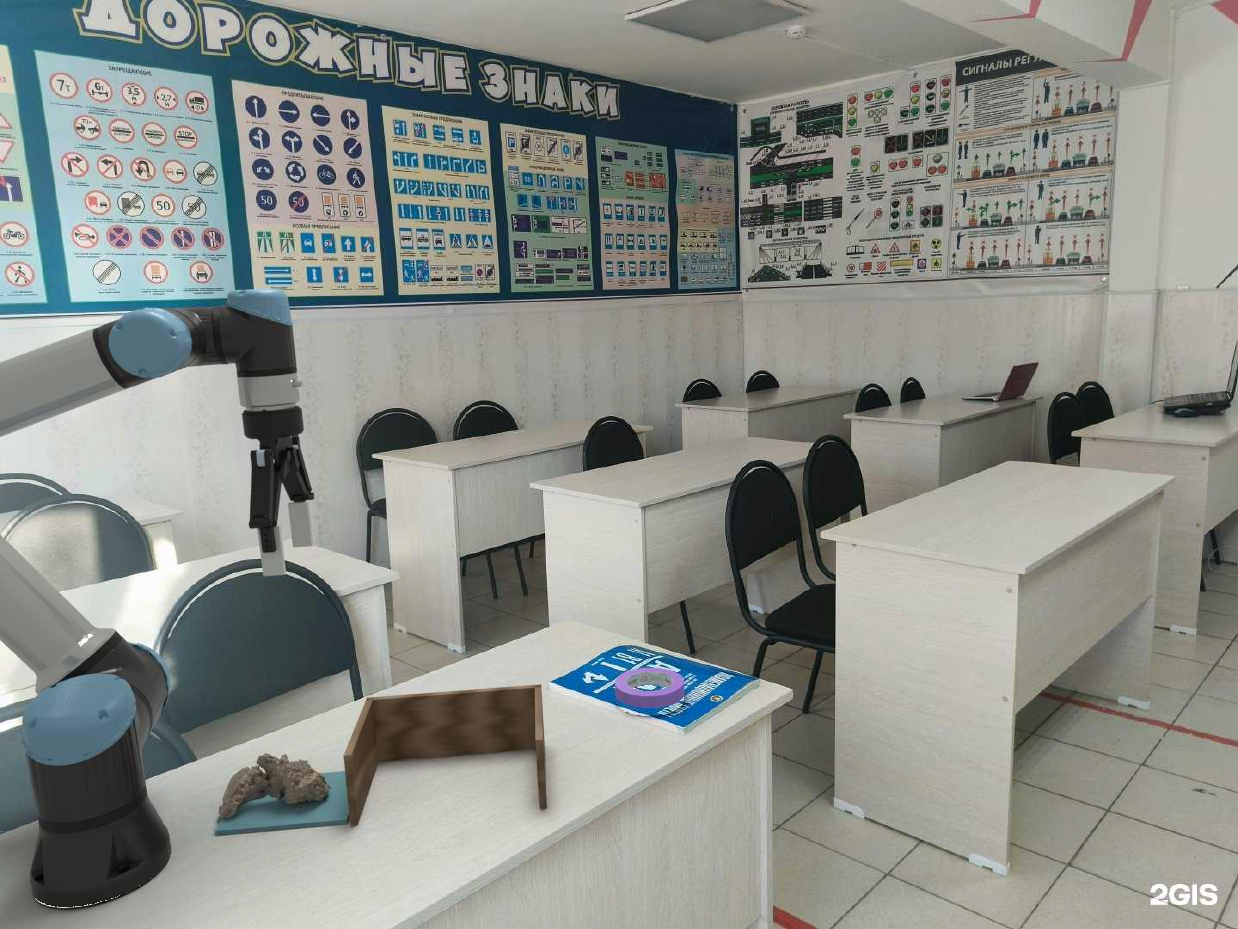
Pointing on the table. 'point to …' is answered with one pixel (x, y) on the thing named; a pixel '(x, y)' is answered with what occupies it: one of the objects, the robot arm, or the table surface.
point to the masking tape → (649, 677)
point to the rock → (274, 783)
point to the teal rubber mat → (291, 811)
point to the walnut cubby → (443, 732)
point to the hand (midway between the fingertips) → (289, 560)
